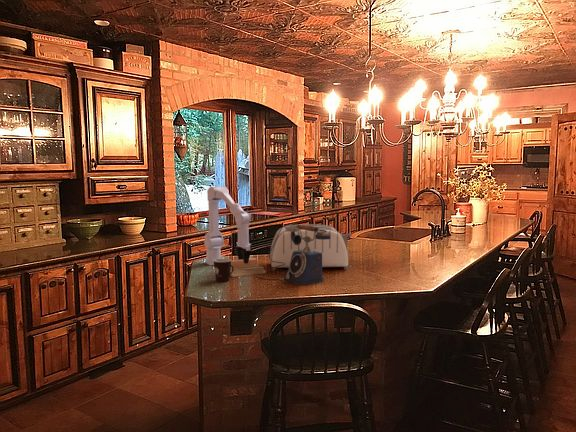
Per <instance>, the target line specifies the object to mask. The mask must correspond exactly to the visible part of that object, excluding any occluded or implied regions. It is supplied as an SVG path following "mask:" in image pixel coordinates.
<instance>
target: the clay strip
mask: <svg viewBox="0 0 576 432" xmlns="http://www.w3.org/2000/svg"><path fill="white" fill-rule="evenodd" d="M231 265H232V266H233V267H242V266H252V265H258V258H255V257H254V258H249V262H248V263H246V264H244V261H243V259H242V260H239V259H233V260H232V259H231ZM231 268H232V267H231Z"/></svg>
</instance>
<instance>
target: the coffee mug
mask: <svg viewBox="0 0 576 432" xmlns="http://www.w3.org/2000/svg"><path fill="white" fill-rule="evenodd" d="M231 260H232V259H230V258H223V257H222V258H221V259H215V260H213V261H214V265H213V266H214V269H213V270H214V274H215V281H216V282H217V283H227V282H230V277H231V275H230V274H232V272H233V270H234V269H233V266H232V265H231ZM231 267H232V272H231V273H230V270H231Z"/></svg>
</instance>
